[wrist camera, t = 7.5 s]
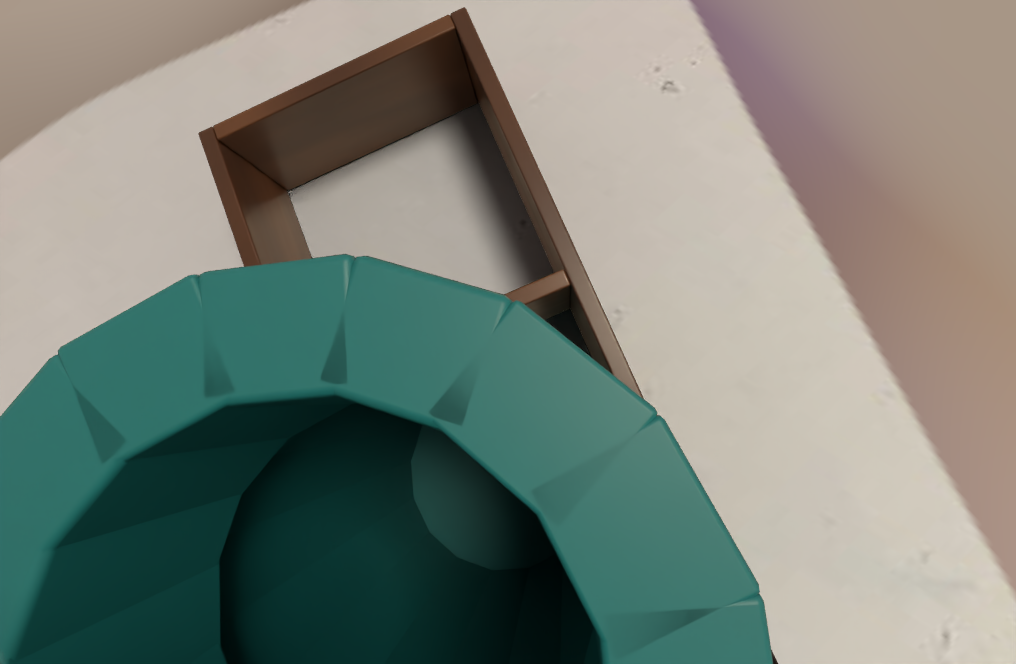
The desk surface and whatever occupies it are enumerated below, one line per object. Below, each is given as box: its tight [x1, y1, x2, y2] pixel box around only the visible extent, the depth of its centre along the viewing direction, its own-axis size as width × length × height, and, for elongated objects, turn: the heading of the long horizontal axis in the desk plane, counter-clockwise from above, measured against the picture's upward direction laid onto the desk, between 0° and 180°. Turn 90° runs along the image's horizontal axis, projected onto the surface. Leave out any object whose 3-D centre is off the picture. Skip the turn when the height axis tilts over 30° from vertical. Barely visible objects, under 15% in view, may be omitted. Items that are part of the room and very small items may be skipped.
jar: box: [0, 254, 773, 664], centre depth 10 cm, size 7×7×13 cm
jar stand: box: [199, 7, 644, 399], centre depth 16 cm, size 9×17×4 cm, turn 23°
